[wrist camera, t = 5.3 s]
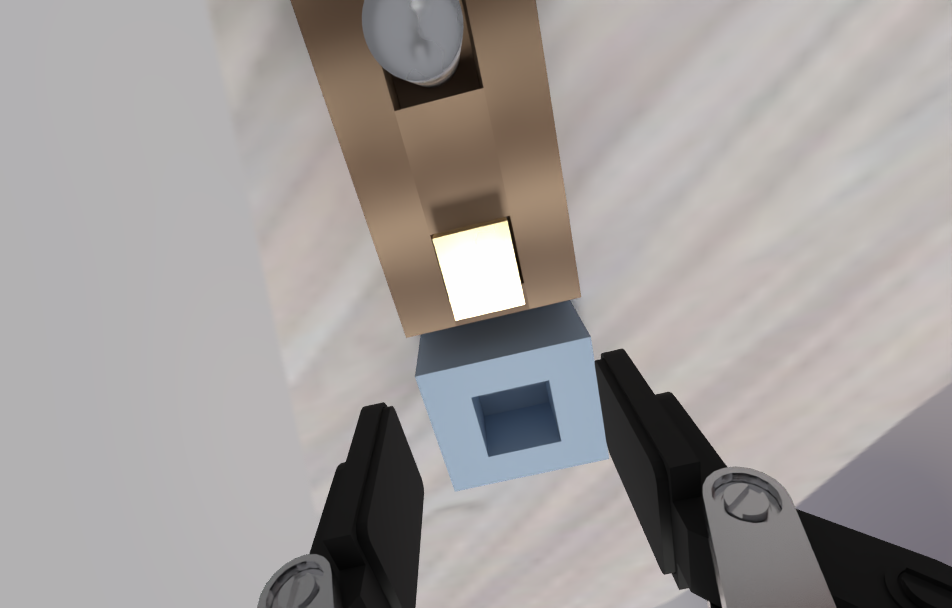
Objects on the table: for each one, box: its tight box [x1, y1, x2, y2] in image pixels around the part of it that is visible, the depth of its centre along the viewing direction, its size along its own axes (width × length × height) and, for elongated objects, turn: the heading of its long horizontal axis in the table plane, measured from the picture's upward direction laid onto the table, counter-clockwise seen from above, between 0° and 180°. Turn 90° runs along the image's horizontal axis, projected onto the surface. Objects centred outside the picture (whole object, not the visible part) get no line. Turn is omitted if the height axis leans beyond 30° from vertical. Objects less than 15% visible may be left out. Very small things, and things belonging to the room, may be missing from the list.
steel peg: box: [362, 0, 464, 88], centre depth 18 cm, size 3×3×10 cm
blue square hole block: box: [415, 300, 609, 491], centre depth 29 cm, size 9×10×5 cm
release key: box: [433, 217, 525, 320], centre depth 24 cm, size 4×4×5 cm
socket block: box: [291, 0, 581, 338], centre depth 24 cm, size 18×10×4 cm, turn 13°
